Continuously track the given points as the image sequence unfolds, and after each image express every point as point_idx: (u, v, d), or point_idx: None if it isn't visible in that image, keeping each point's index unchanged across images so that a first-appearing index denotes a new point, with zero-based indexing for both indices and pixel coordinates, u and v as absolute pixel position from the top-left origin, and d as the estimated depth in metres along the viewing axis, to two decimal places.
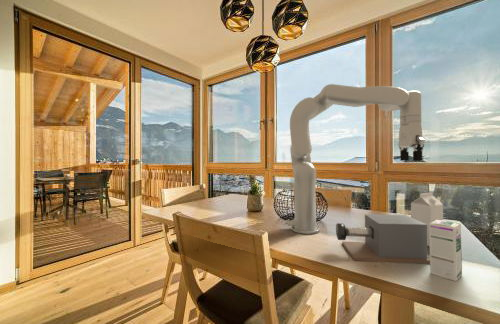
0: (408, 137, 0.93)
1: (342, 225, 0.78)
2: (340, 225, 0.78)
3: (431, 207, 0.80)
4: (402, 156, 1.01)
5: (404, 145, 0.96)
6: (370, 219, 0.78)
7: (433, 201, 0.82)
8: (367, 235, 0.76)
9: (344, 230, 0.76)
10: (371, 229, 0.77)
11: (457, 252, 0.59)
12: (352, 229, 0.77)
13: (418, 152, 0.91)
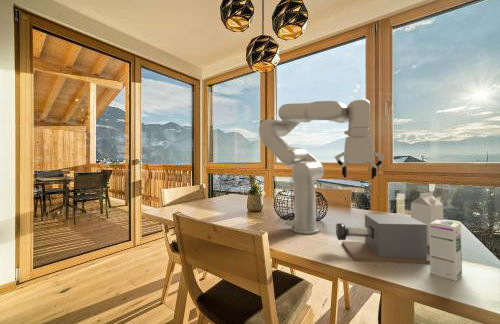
0: (368, 152, 0.81)
1: (342, 225, 0.78)
2: (340, 225, 0.78)
3: (431, 207, 0.80)
4: (345, 172, 0.87)
5: (359, 161, 0.83)
6: (370, 219, 0.78)
7: (433, 201, 0.82)
8: (367, 235, 0.76)
9: (344, 230, 0.76)
10: (371, 229, 0.77)
11: (457, 252, 0.59)
12: (352, 229, 0.77)
13: None
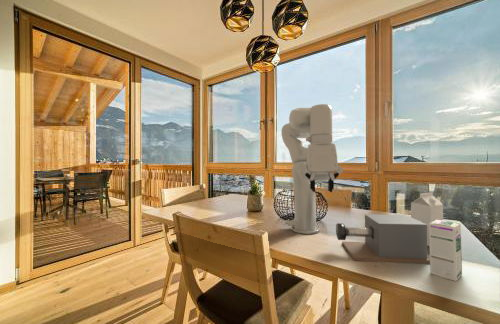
0: (333, 161, 0.76)
1: (342, 225, 0.78)
2: (340, 225, 0.78)
3: (431, 207, 0.80)
4: (314, 186, 0.79)
5: (324, 170, 0.76)
6: (370, 219, 0.78)
7: (433, 201, 0.82)
8: (367, 235, 0.76)
9: (344, 230, 0.76)
10: (371, 229, 0.77)
11: (457, 252, 0.59)
12: (352, 229, 0.77)
13: None
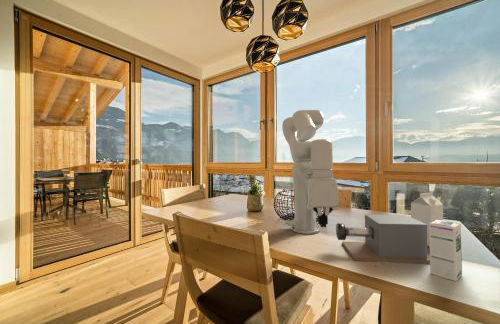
0: (334, 196, 0.76)
1: (342, 225, 0.78)
2: (340, 225, 0.78)
3: (431, 207, 0.80)
4: None
5: (325, 205, 0.76)
6: (370, 219, 0.78)
7: (433, 201, 0.82)
8: (367, 235, 0.76)
9: (344, 230, 0.76)
10: (371, 229, 0.77)
11: (457, 252, 0.59)
12: (352, 229, 0.77)
13: None
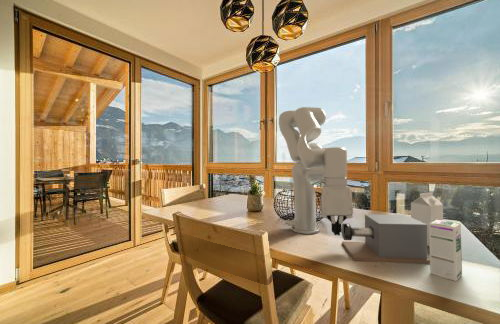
0: (348, 204, 0.76)
1: (348, 225, 0.77)
2: (346, 225, 0.77)
3: (431, 207, 0.80)
4: None
5: (339, 214, 0.76)
6: (370, 219, 0.78)
7: (433, 201, 0.82)
8: (373, 235, 0.76)
9: (350, 230, 0.76)
10: None
11: (457, 252, 0.59)
12: (358, 229, 0.77)
13: None
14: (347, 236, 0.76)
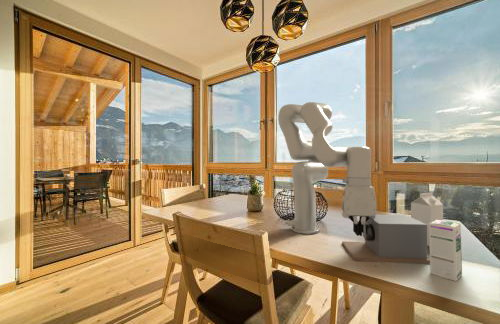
0: (372, 205, 0.74)
1: (370, 226, 0.76)
2: (368, 226, 0.76)
3: (431, 207, 0.80)
4: None
5: (362, 214, 0.75)
6: (370, 219, 0.78)
7: (433, 201, 0.82)
8: None
9: (373, 231, 0.75)
10: None
11: (457, 252, 0.59)
12: None
13: None
14: (370, 237, 0.75)
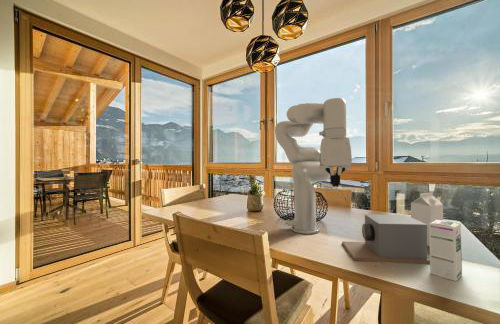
0: (347, 155, 0.76)
1: (370, 226, 0.76)
2: (367, 226, 0.76)
3: (431, 207, 0.80)
4: None
5: (338, 164, 0.76)
6: (370, 219, 0.78)
7: (433, 201, 0.82)
8: None
9: (372, 231, 0.75)
10: None
11: (457, 252, 0.59)
12: None
13: None
14: (369, 237, 0.75)
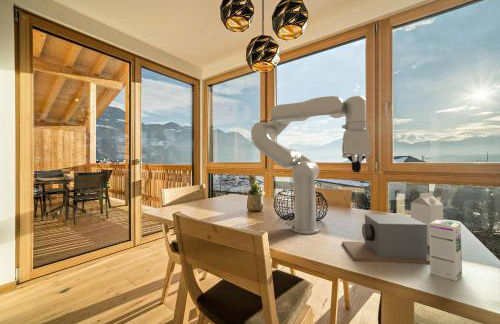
0: (367, 144, 0.89)
1: (370, 226, 0.76)
2: (367, 226, 0.76)
3: (431, 207, 0.80)
4: None
5: (359, 152, 0.89)
6: (370, 219, 0.78)
7: (433, 201, 0.82)
8: None
9: (372, 231, 0.75)
10: None
11: (457, 252, 0.59)
12: None
13: None
14: (369, 237, 0.75)
